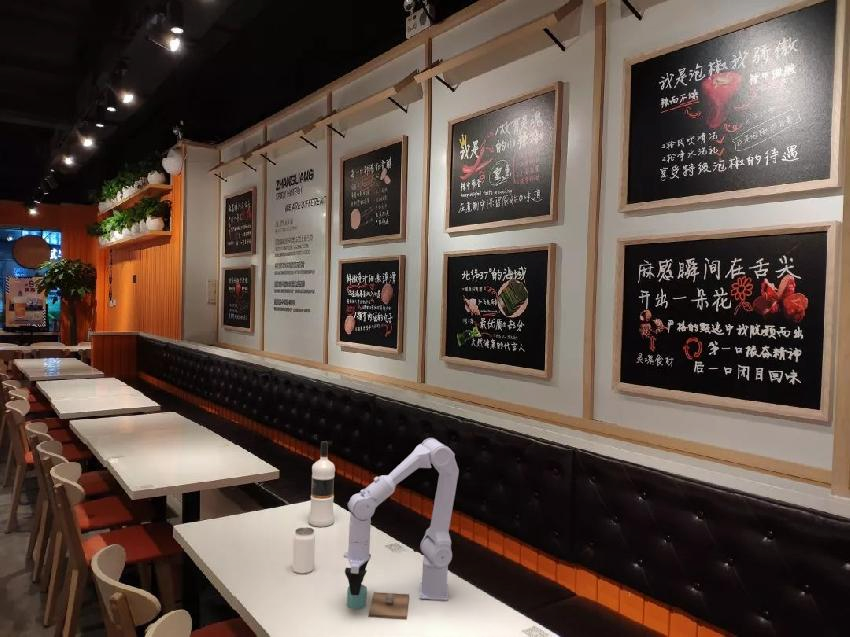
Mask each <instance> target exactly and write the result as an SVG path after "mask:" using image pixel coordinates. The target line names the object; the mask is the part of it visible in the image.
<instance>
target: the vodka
mask: <svg viewBox="0 0 850 637" xmlns="http://www.w3.org/2000/svg"><path fill="white" fill-rule="evenodd" d="M328 449H329V441H327V440H325V441H321V442H320V459H318V460H317V461H315V462H314V463H313V464H312V466H311V487H310V488H311V490H310V491H311V494H310V508H309V509H310V510H309V515H308V521H307V522H308V524H310V525H311V526H314V527H316V526H317V527H316V528H324V527H325V526H326V527H329V526H331V525H332V524H334V522H335V515H334V514H335V513H334V498H335V495H334V488H335V487H334V485H335V483H334V482H335V475H336V474H335V472H336V467H335V466H336V465H335V464H334V462H332V461H330V460H329V459H328V456H329V454H328V453H329V450H328Z"/></svg>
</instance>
